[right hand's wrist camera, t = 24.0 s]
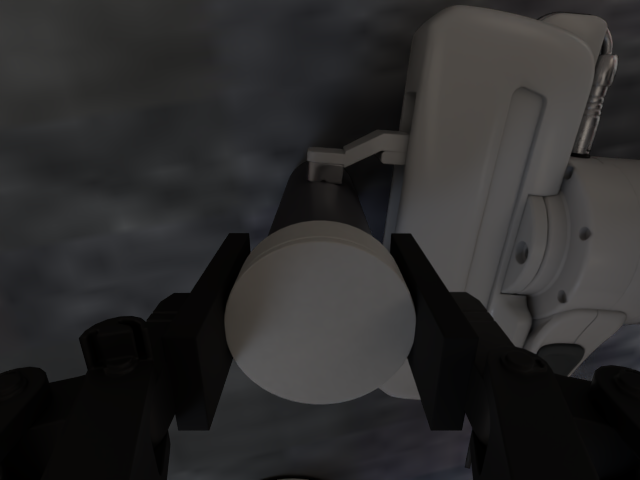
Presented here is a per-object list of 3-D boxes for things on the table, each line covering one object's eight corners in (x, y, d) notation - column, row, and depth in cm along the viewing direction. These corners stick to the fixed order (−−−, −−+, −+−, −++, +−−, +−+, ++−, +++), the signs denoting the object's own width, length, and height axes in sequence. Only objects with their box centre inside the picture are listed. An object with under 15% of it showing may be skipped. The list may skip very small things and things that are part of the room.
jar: (283, 220, 26) (242, 364, 12) (289, 154, 24) (249, 233, 11) (348, 228, 26) (380, 377, 12) (358, 163, 25) (408, 251, 11)
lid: (203, 306, 12) (185, 339, 11) (310, 182, 11) (308, 198, 9) (327, 390, 14) (329, 431, 12) (438, 290, 12) (457, 322, 10)
